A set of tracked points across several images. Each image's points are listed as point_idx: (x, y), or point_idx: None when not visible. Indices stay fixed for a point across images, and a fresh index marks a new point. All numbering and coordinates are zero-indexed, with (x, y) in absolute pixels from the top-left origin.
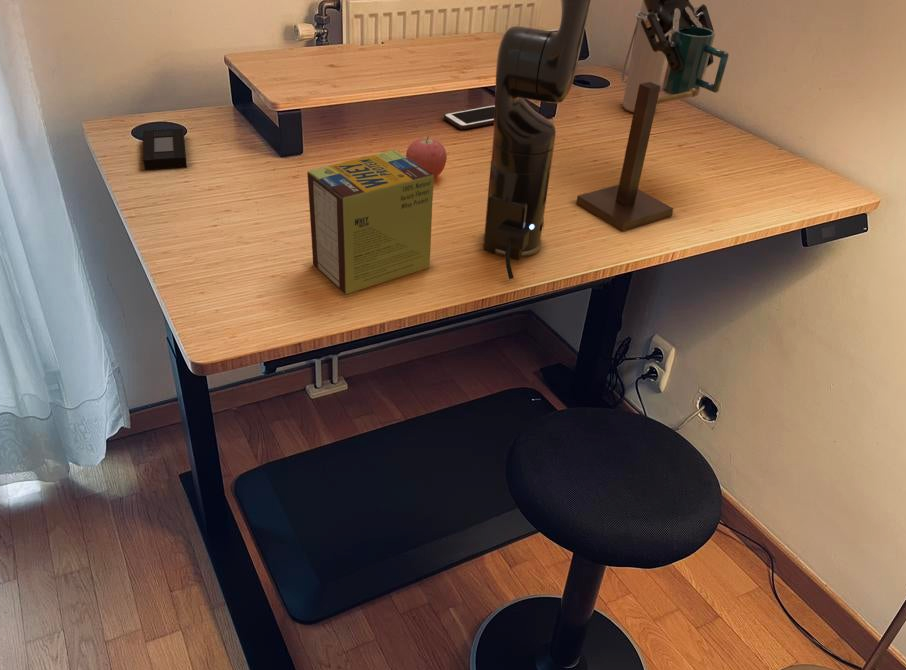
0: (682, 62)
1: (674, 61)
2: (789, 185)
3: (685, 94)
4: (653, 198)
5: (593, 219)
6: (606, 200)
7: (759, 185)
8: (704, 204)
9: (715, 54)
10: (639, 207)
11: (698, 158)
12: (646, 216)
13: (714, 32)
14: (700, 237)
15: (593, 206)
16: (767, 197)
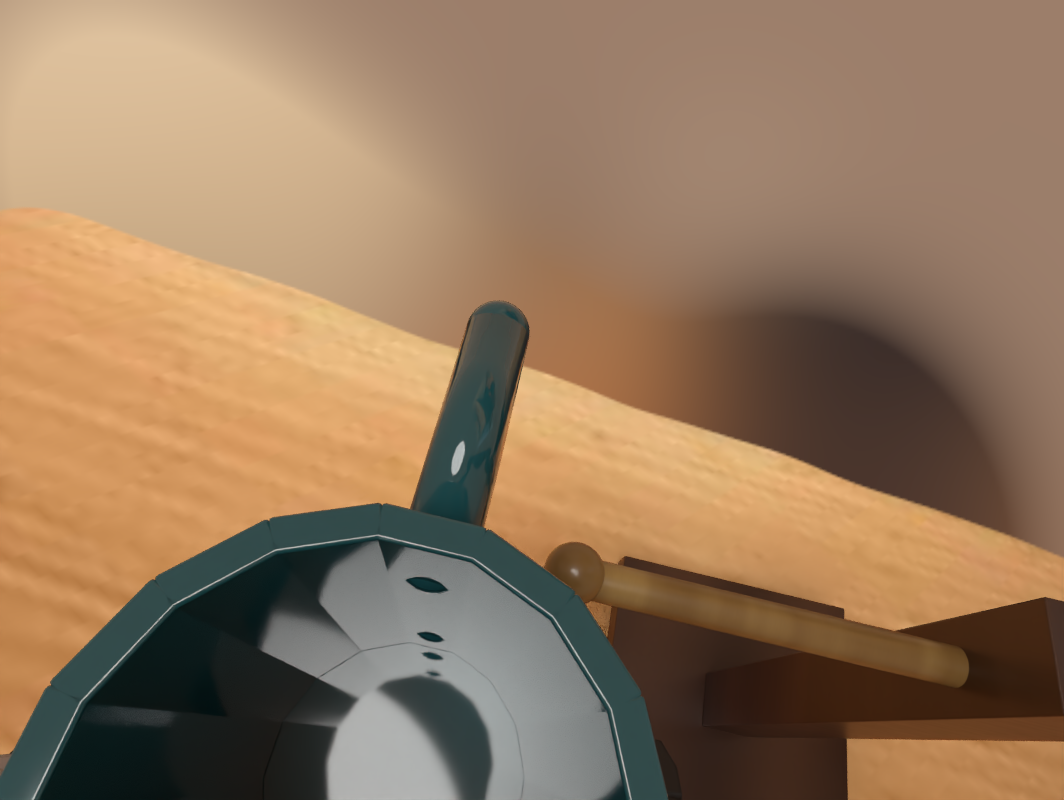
0: None
1: (677, 793)
2: (83, 405)
3: (668, 578)
4: (619, 648)
5: None
6: (778, 763)
7: (156, 474)
8: None
9: (508, 419)
10: (717, 640)
11: None
12: (746, 585)
13: (173, 569)
14: (658, 437)
15: (844, 770)
16: (243, 417)
